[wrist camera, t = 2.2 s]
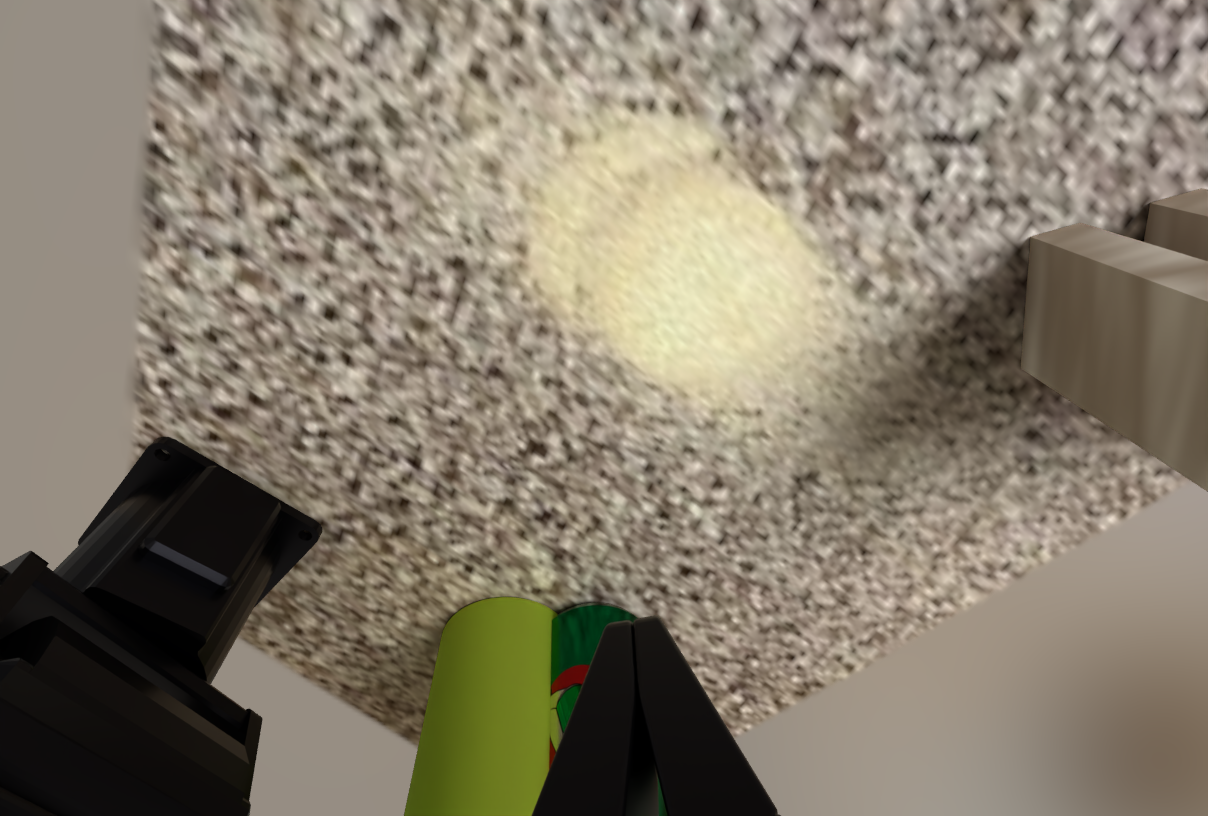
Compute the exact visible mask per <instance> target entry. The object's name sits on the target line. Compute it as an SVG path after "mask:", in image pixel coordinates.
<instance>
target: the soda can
mask: <svg viewBox="0 0 1208 816" xmlns="http://www.w3.org/2000/svg"><path fill="white" fill-rule="evenodd" d="M635 619H637V617H636V616H634V615H633V614H632V613H630V612H628V611H627V610H625V609H623V608H621V607H618V606H615V605H612V604H608V603H600V602H593V603H584V604H580V605H576V606H573V607H570V608H568V609H566V610H564V611H563V612H561V613H560V614H558V615H557V616H555V617H554V618H553V619H552V630H551V691H550V751H549V769H550V767H551V764H552V762H553V759H554V756H555V754H556V751H557V749H558V746H559V744H560V741H561V738H562V736H563V733H564V731H565V728H566V726H567V723H568V720H569V718H570V715H571V713H572V710H573V708H574V705H575V702H576V700H577V697H578V695H579V692H580V690H581V687H582V684H583V682H584V679H585V677H586V674H587V672H588V669H589V666H590V664H591V661H592V659H593V656H594V654H595V651H596V648H597V646H598V643H599V641H600V638H601V636H602V633H603V631H604V628H605V627H606V625H607V624H609V623H613V622H619V621H625V620H630V621H631V622H632V623H633V622H634V620H635ZM658 802H659V816H667V812H666V808H665V804H664V800H663V796H662V791H661V787H660V783H659V779H658Z"/></svg>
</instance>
